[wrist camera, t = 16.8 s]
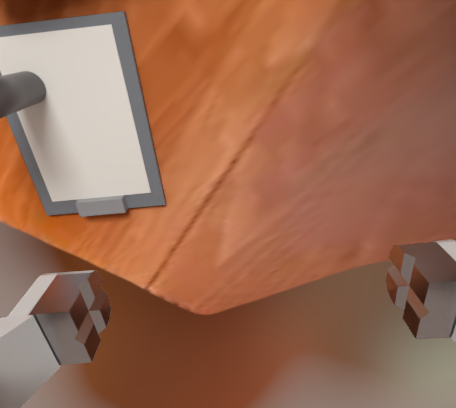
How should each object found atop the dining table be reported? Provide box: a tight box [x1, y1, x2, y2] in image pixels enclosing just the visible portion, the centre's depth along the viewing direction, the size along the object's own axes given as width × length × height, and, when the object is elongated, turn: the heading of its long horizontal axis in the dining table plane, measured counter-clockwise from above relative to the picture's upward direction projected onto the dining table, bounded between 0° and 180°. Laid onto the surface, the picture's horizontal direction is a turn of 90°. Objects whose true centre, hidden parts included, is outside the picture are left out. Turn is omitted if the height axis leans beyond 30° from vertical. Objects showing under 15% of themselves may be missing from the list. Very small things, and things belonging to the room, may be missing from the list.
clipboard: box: [0, 11, 166, 217], centre depth 38 cm, size 22×16×2 cm
